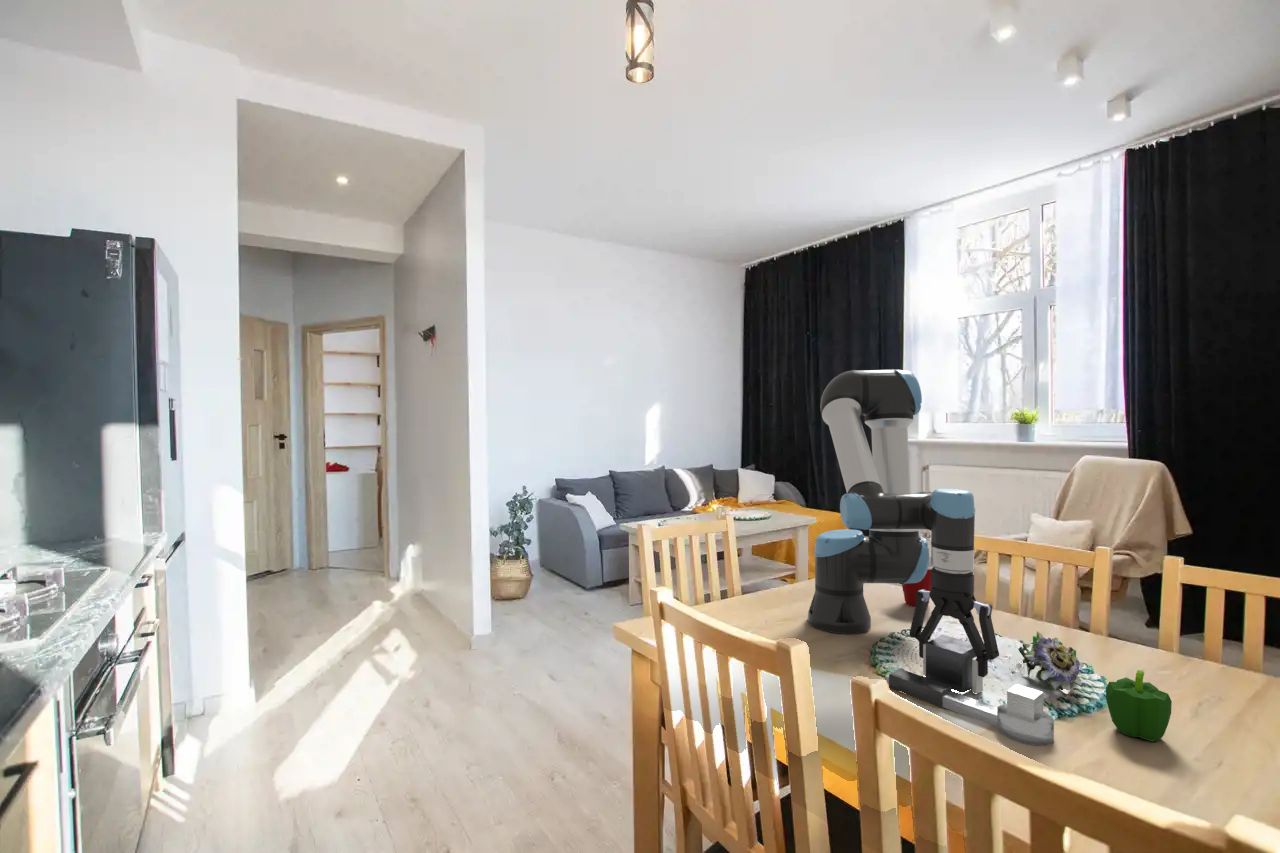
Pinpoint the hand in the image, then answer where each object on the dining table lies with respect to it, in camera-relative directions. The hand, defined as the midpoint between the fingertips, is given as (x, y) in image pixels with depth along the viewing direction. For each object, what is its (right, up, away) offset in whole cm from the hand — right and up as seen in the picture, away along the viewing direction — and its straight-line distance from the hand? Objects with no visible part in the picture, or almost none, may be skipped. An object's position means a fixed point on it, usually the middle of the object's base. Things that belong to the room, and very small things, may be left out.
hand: (952, 683), depth 120 cm
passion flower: (+19, 0, 0) cm, 19 cm away
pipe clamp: (+26, 0, +8) cm, 28 cm away
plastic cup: (+16, +1, +50) cm, 52 cm away
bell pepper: (+21, -1, -19) cm, 28 cm away
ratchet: (-3, -1, -10) cm, 11 cm away
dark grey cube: (0, 0, 0) cm, 0 cm away
